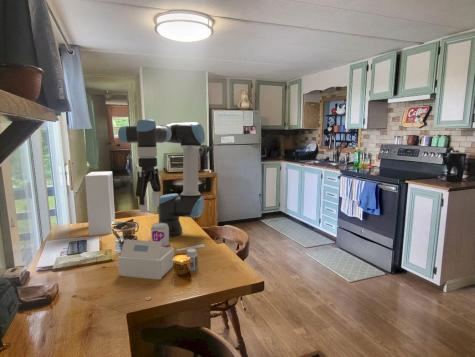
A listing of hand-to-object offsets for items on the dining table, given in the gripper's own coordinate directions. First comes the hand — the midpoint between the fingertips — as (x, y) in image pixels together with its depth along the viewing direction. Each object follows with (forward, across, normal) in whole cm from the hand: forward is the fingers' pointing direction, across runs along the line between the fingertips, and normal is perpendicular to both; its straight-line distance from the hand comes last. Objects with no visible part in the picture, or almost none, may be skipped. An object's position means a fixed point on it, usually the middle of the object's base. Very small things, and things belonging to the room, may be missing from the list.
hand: (149, 209), depth 129 cm
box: (+26, -46, -56) cm, 77 cm away
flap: (+15, +9, 0) cm, 17 cm away
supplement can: (+26, -13, -2) cm, 29 cm away
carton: (+26, +4, 0) cm, 26 cm away
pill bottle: (+26, -1, +18) cm, 32 cm away
